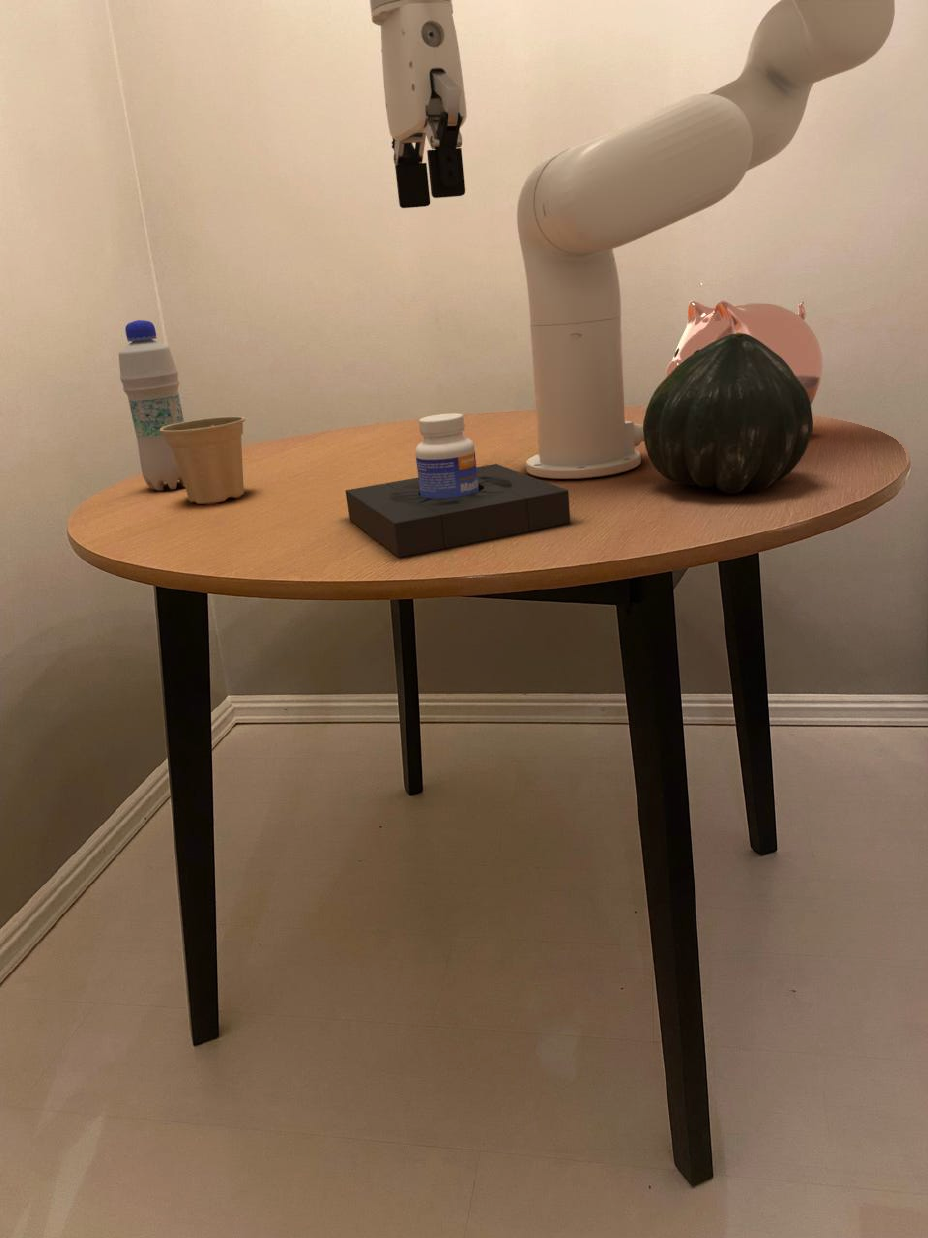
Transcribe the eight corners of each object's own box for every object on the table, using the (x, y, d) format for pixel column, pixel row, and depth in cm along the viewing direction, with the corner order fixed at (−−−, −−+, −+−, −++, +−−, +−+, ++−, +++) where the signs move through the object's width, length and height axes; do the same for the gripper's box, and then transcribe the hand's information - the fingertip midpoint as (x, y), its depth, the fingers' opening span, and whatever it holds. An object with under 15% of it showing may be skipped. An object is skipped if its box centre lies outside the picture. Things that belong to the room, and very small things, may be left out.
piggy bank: (641, 441, 115) (637, 305, 110) (768, 420, 120) (770, 288, 114) (708, 460, 102) (706, 305, 96) (849, 436, 106) (855, 286, 100)
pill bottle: (475, 528, 84) (465, 419, 81) (417, 531, 85) (404, 423, 82) (486, 513, 89) (476, 409, 86) (431, 515, 90) (419, 413, 87)
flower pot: (170, 498, 111) (155, 424, 108) (249, 484, 114) (236, 412, 111) (180, 513, 103) (164, 433, 100) (265, 497, 106) (252, 420, 103)
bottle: (210, 480, 119) (178, 315, 112) (174, 493, 113) (139, 320, 106) (169, 480, 122) (136, 319, 115) (133, 492, 116) (95, 324, 109)
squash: (683, 410, 100) (652, 308, 88) (831, 415, 92) (820, 303, 80) (648, 523, 95) (610, 430, 83) (801, 537, 88) (784, 437, 76)
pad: (498, 492, 97) (496, 463, 96) (570, 523, 83) (568, 490, 82) (349, 520, 92) (345, 490, 91) (398, 558, 78) (394, 523, 77)
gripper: (484, -32, 79) (501, 189, 85) (419, 23, 95) (437, 207, 101) (400, -33, 77) (424, 195, 83) (347, 24, 92) (370, 213, 98)
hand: (431, 201), depth 92 cm, fingers open, 9 cm apart
